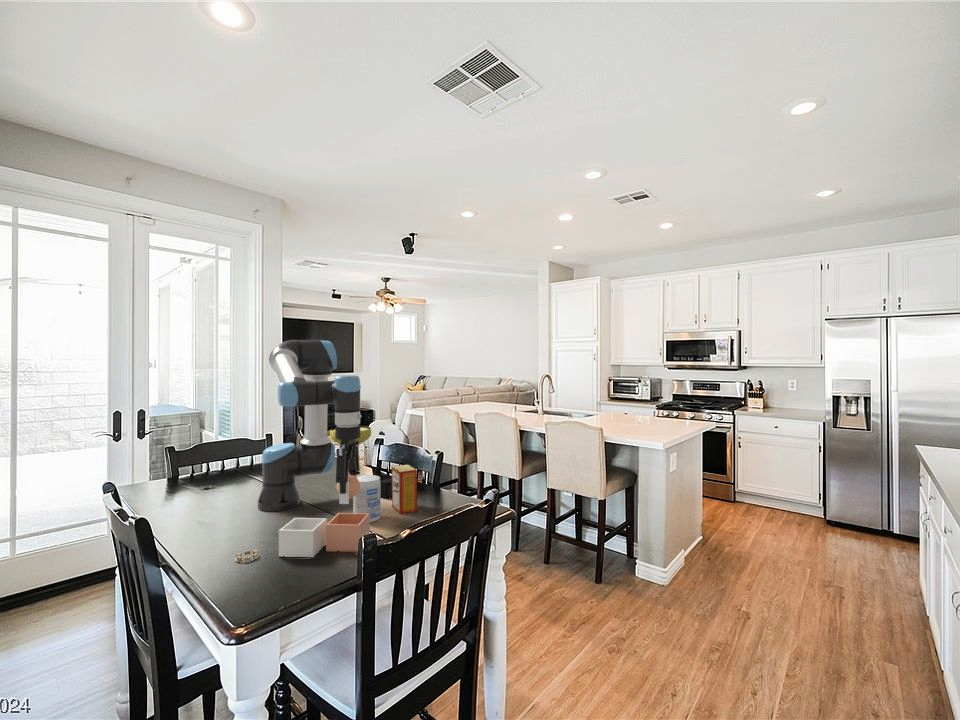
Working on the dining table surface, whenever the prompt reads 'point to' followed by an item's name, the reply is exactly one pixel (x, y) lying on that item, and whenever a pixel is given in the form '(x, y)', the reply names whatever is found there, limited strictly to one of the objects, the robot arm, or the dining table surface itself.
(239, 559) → the ball stand
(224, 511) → the dining table surface
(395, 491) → the baking soda box
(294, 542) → the white open box
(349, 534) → the terracotta open box
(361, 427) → the cocktail glass
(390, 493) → the digital camera
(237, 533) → the dining table surface
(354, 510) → the supplement tub
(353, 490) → the ball
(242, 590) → the dining table surface
